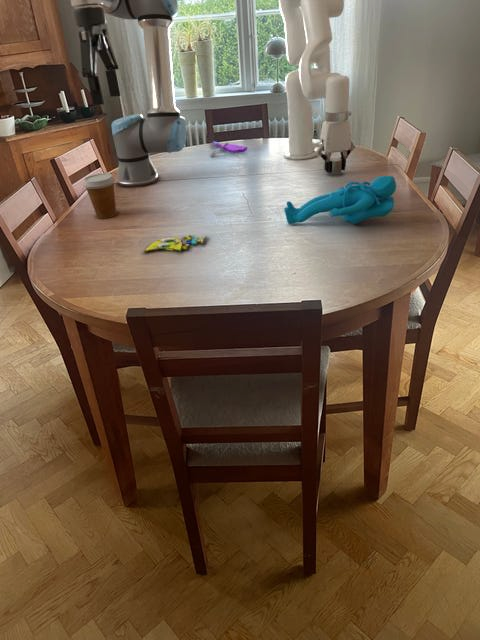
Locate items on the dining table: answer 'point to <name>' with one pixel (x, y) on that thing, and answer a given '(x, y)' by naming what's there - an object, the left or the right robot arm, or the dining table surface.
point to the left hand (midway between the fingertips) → (107, 100)
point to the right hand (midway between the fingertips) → (335, 170)
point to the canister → (336, 165)
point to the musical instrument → (229, 148)
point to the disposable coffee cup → (101, 194)
